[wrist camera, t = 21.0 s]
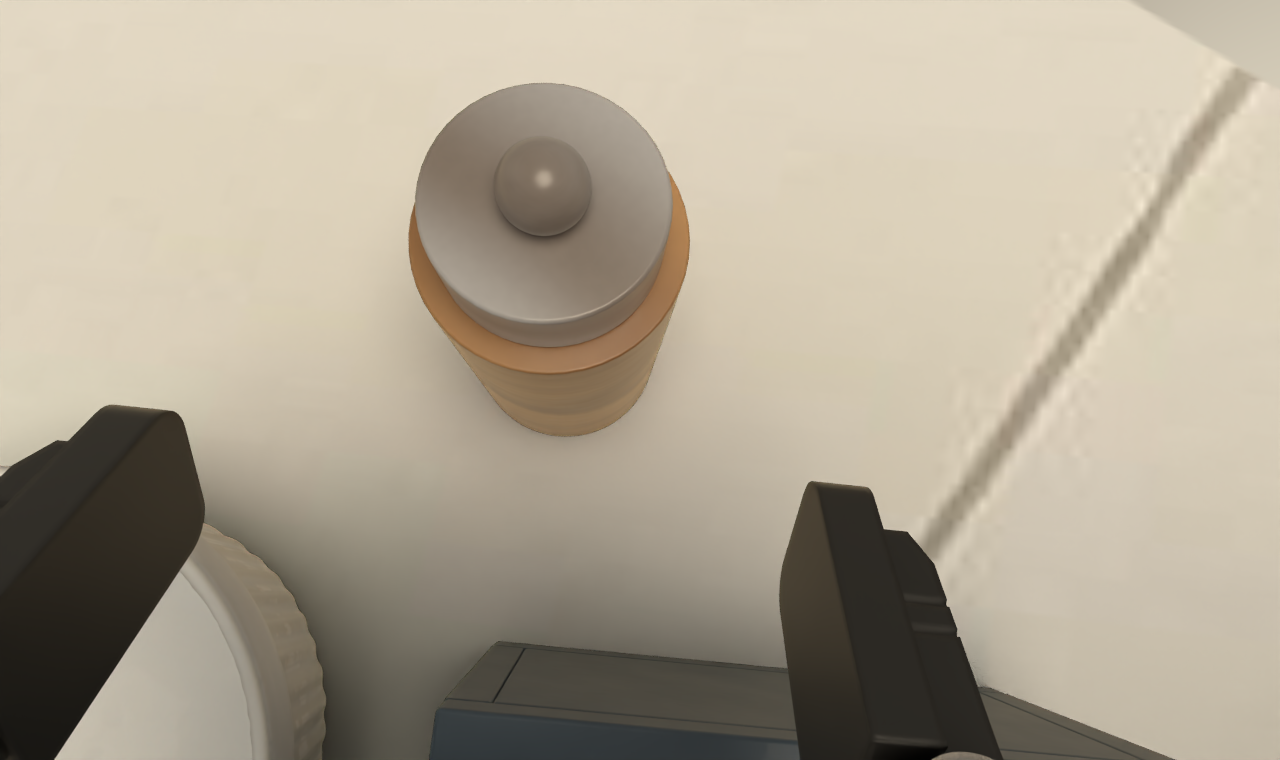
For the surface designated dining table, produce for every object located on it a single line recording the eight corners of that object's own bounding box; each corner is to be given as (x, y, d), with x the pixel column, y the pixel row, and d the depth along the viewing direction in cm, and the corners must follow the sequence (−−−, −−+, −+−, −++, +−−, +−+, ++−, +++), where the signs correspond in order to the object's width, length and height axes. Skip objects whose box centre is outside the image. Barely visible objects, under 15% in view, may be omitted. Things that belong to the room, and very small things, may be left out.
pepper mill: (553, 234, 26) (514, -53, 13) (687, 336, 26) (780, 142, 13) (443, 364, 25) (287, 189, 12) (581, 472, 25) (567, 407, 12)
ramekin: (-139, 537, 23) (-441, 539, 17) (327, 439, 25) (225, 403, 18) (-108, 1046, 21) (-443, 1292, 14) (403, 910, 22) (319, 1076, 16)
